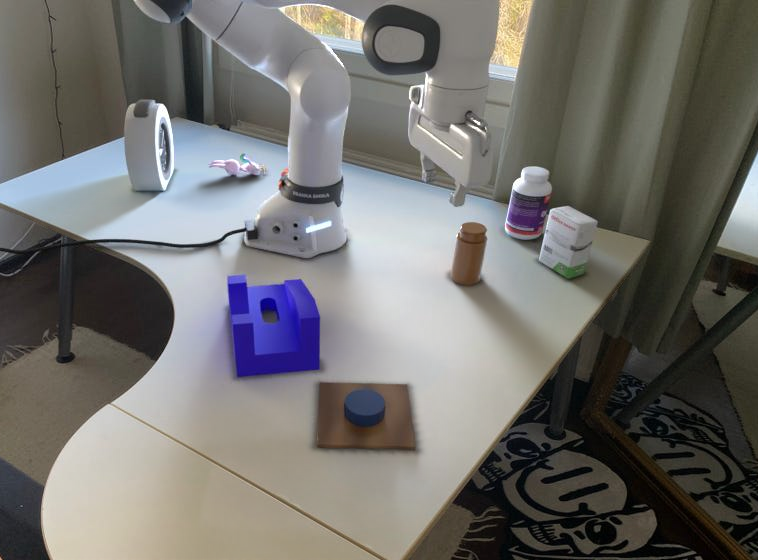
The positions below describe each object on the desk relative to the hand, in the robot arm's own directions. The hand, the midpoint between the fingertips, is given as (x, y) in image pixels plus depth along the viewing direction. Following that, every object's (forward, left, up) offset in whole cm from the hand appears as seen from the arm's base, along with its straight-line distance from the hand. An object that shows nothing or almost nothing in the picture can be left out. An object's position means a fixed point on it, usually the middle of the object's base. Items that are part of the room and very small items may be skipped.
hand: (442, 192), depth 105 cm
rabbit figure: (-53, +60, -26) cm, 84 cm away
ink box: (+26, +27, -26) cm, 45 cm away
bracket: (-26, -9, -26) cm, 38 cm away
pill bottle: (+19, +41, -26) cm, 52 cm away
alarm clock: (-73, +52, -26) cm, 93 cm away
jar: (+7, +19, -26) cm, 32 cm away
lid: (-7, -26, -23) cm, 36 cm away
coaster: (-7, -26, -26) cm, 37 cm away
